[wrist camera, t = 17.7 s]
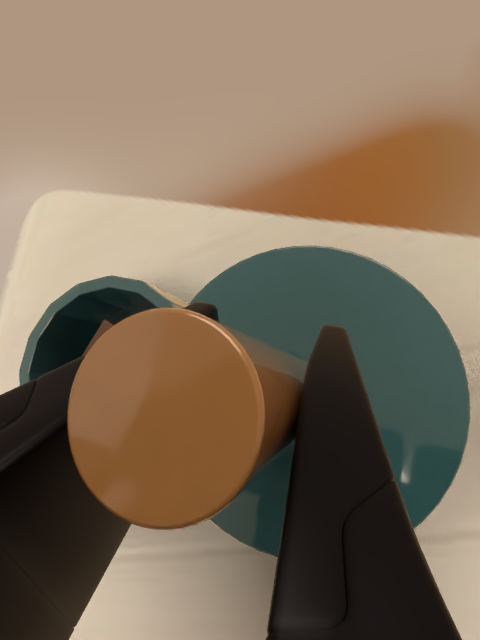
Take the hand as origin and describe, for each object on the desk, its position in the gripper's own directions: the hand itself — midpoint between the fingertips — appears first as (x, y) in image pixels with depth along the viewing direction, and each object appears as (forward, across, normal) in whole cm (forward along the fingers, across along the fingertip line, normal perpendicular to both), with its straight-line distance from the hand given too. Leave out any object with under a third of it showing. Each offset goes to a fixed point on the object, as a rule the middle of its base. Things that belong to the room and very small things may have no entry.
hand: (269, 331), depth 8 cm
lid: (+3, 0, +5) cm, 6 cm away
